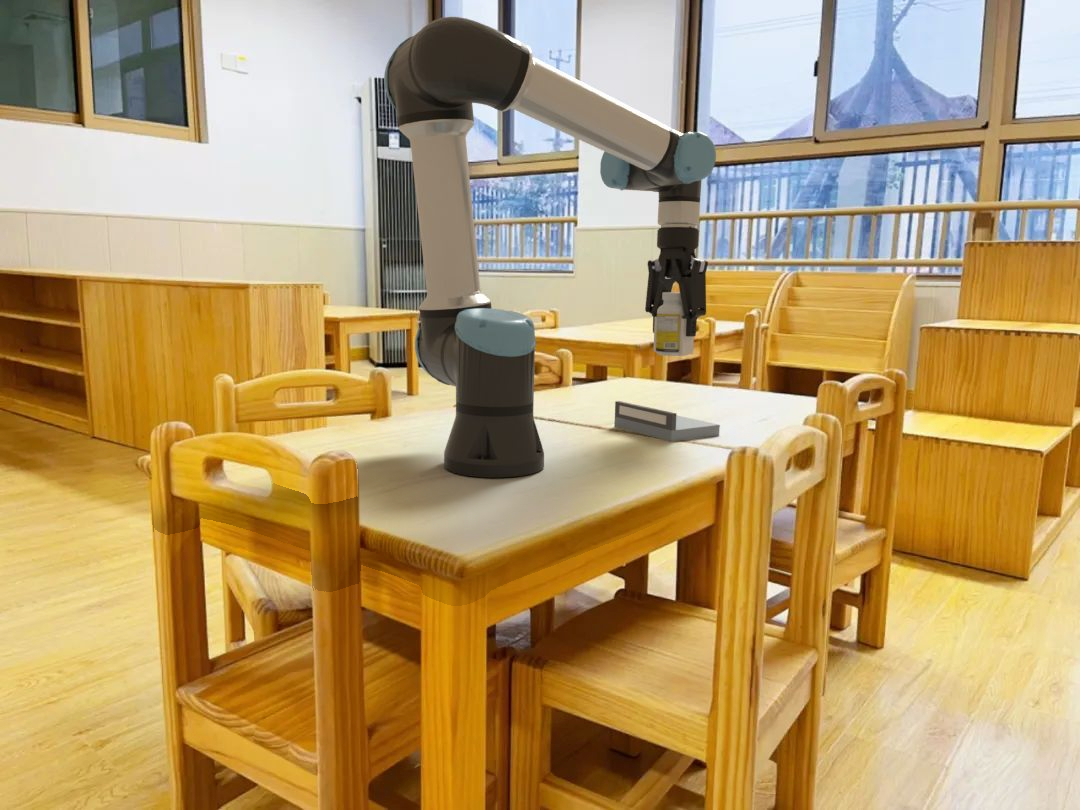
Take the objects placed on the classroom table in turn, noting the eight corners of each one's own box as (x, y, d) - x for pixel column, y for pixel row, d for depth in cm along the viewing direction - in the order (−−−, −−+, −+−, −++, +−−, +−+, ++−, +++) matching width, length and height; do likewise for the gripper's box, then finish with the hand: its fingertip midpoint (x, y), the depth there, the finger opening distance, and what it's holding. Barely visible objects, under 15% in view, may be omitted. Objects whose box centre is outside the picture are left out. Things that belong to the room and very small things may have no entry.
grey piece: (670, 441, 144) (671, 413, 143) (613, 426, 157) (614, 401, 156) (719, 435, 151) (720, 408, 150) (660, 421, 164) (662, 397, 163)
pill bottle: (687, 353, 155) (690, 292, 153) (692, 356, 149) (695, 293, 147) (653, 352, 155) (655, 291, 153) (657, 356, 149) (660, 292, 147)
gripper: (732, 225, 142) (725, 356, 146) (658, 229, 158) (653, 347, 162) (701, 223, 138) (695, 358, 142) (628, 228, 154) (624, 348, 158)
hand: (672, 352), depth 152 cm, fingers closed on pill bottle, 6 cm apart
